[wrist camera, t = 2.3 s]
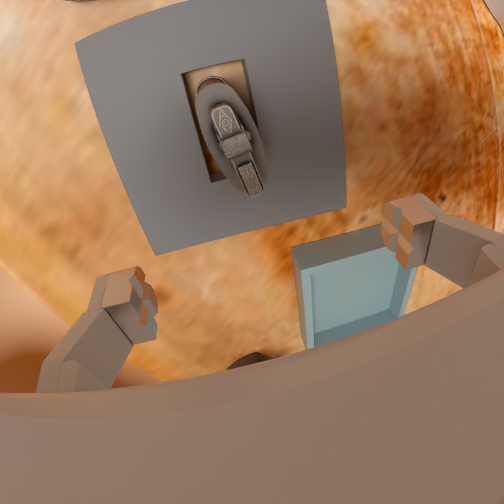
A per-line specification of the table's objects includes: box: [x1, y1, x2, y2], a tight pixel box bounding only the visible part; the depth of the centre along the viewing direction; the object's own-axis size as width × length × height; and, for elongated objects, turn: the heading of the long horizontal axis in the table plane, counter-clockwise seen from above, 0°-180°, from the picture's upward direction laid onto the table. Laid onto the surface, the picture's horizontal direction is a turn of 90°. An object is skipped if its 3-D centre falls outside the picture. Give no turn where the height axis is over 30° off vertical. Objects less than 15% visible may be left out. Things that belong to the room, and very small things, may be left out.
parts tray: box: [291, 224, 417, 350], centre depth 38 cm, size 16×18×4 cm
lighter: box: [195, 76, 268, 198], centre depth 20 cm, size 8×3×10 cm, turn 21°
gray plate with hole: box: [75, 0, 346, 256], centre depth 23 cm, size 20×22×2 cm
